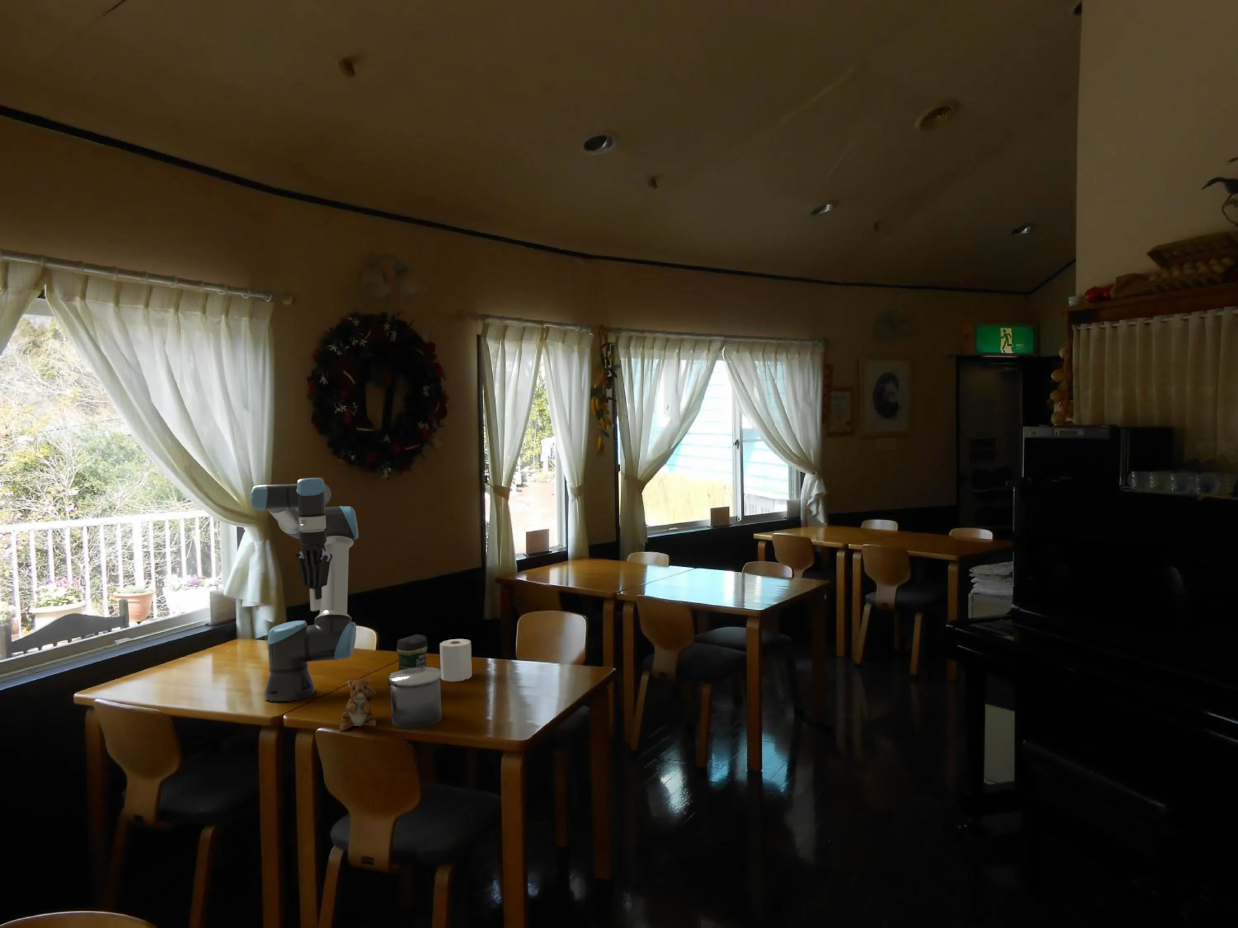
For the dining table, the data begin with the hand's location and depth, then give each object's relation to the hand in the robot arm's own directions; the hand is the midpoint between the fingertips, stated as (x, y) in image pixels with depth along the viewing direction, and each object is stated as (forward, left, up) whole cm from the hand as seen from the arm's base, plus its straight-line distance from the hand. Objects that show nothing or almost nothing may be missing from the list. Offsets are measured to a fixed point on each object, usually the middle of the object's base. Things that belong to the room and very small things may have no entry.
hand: (315, 609), depth 241 cm
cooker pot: (+15, +26, -32) cm, 44 cm away
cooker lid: (+15, +26, -20) cm, 36 cm away
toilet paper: (-22, +45, -33) cm, 60 cm away
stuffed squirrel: (+9, +10, -33) cm, 35 cm away
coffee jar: (-11, +29, -33) cm, 45 cm away
